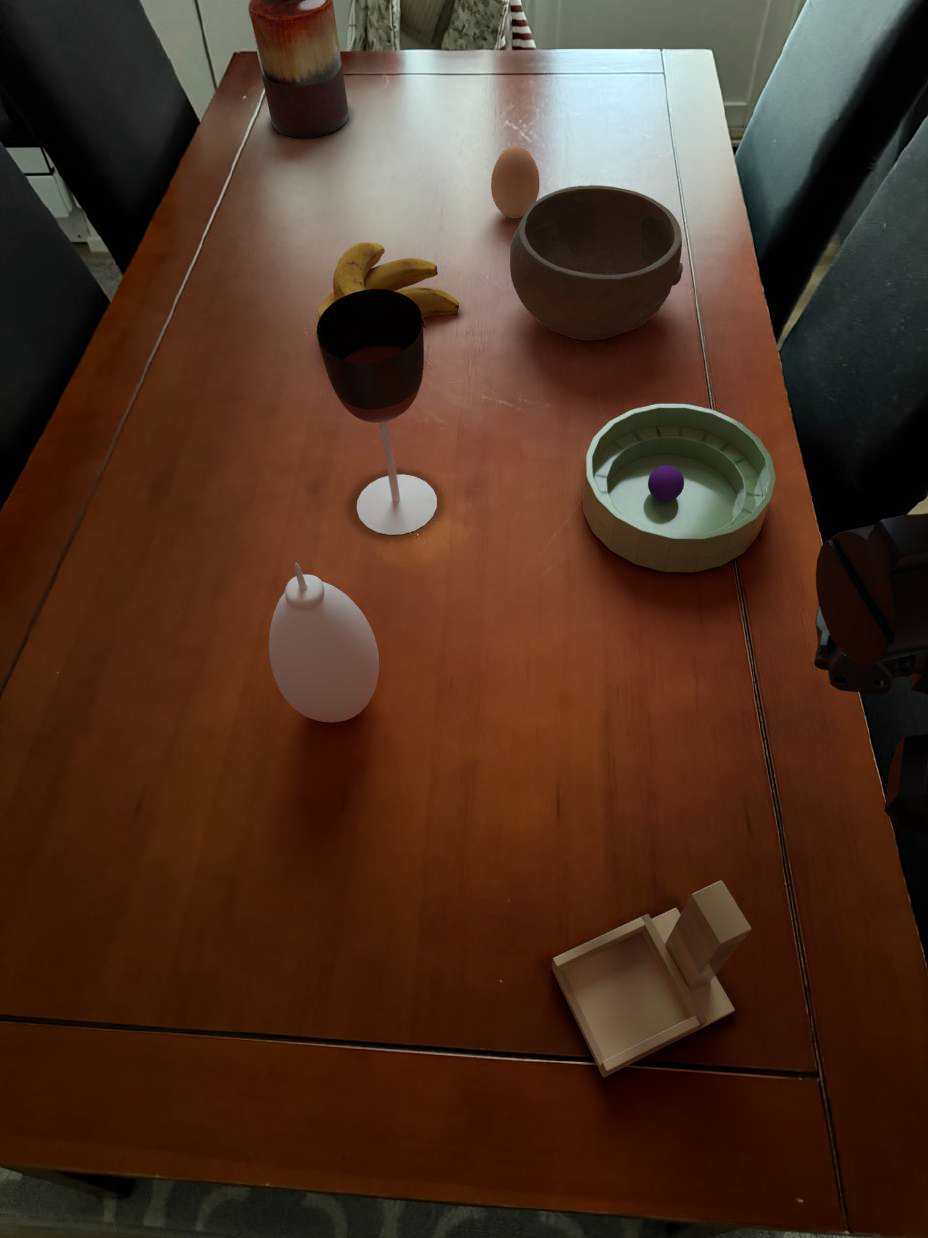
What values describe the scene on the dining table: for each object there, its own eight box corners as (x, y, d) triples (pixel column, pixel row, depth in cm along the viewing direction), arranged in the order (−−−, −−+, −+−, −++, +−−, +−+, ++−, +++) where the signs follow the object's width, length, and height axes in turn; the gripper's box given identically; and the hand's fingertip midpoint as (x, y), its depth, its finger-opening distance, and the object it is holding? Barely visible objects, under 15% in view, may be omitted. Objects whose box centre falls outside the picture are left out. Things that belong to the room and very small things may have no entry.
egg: (532, 231, 108) (534, 162, 101) (486, 225, 109) (485, 157, 102) (543, 204, 111) (545, 136, 104) (497, 199, 112) (497, 132, 106)
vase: (354, 131, 123) (331, -44, 106) (276, 143, 122) (240, -31, 105) (342, 94, 129) (318, -77, 113) (267, 105, 128) (232, -65, 111)
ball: (650, 498, 84) (685, 500, 83) (643, 501, 81) (679, 504, 80) (652, 463, 83) (688, 465, 82) (646, 465, 80) (682, 467, 79)
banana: (325, 390, 93) (316, 345, 89) (319, 280, 104) (310, 235, 100) (472, 373, 94) (470, 327, 89) (450, 265, 105) (447, 220, 100)
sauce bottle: (389, 659, 74) (360, 514, 60) (384, 744, 70) (352, 611, 55) (295, 661, 75) (243, 517, 60) (284, 746, 70) (225, 614, 55)
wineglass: (345, 536, 82) (304, 359, 66) (364, 467, 87) (330, 286, 71) (431, 543, 81) (412, 365, 65) (445, 472, 86) (430, 291, 70)
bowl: (692, 285, 101) (709, 200, 93) (635, 382, 92) (647, 298, 84) (551, 248, 106) (555, 165, 98) (484, 337, 97) (482, 253, 89)
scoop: (675, 909, 62) (709, 842, 52) (733, 1012, 58) (783, 962, 48) (551, 968, 60) (560, 910, 50) (602, 1078, 56) (624, 1041, 46)
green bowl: (776, 465, 85) (789, 426, 81) (742, 596, 77) (755, 560, 72) (609, 427, 89) (614, 387, 85) (559, 548, 80) (562, 510, 76)
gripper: (879, 417, 48) (800, 591, 61) (827, 707, 38) (746, 842, 51) (1109, 466, 45) (976, 637, 58) (1116, 791, 36) (955, 910, 49)
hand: (912, 745), depth 54 cm, fingers open, 9 cm apart
